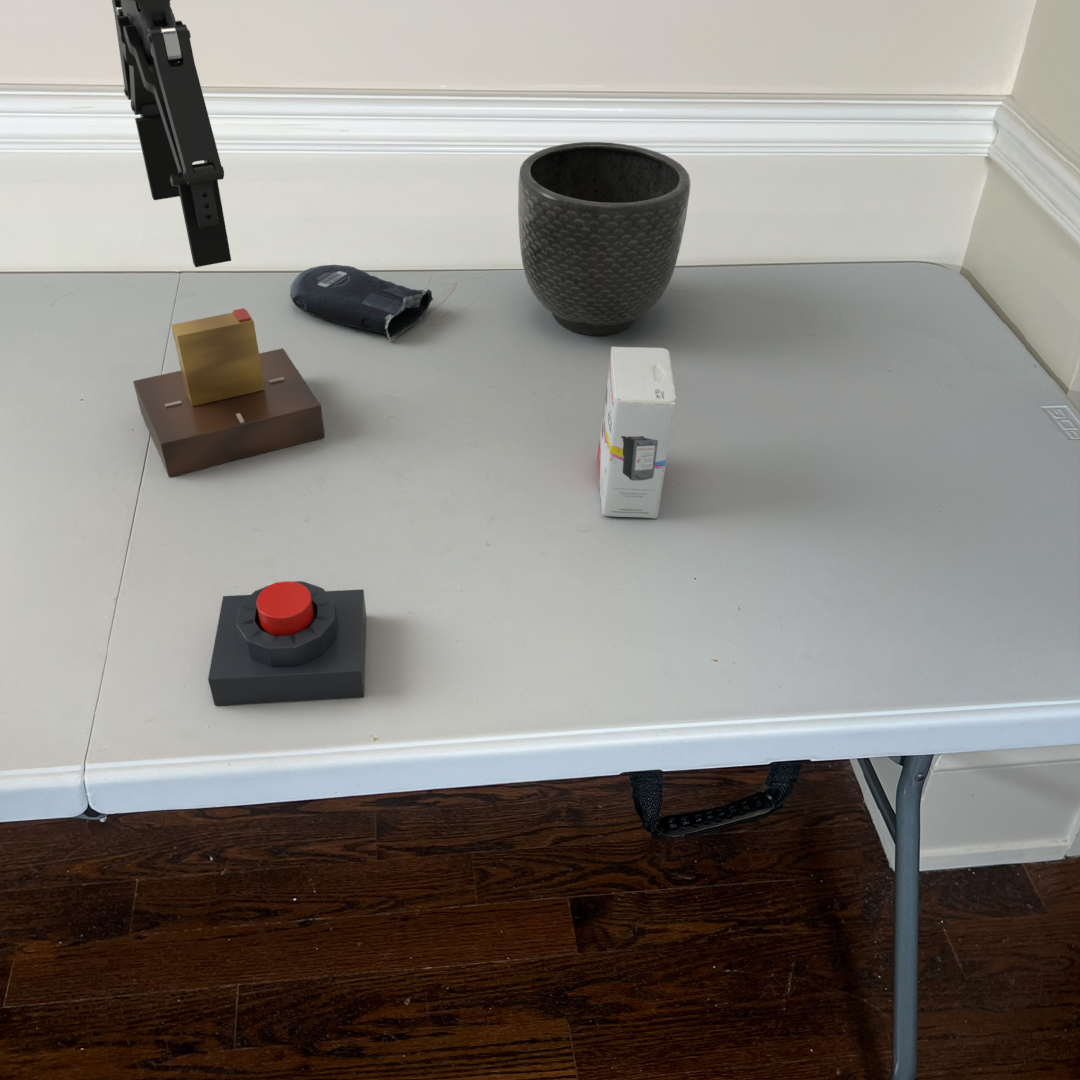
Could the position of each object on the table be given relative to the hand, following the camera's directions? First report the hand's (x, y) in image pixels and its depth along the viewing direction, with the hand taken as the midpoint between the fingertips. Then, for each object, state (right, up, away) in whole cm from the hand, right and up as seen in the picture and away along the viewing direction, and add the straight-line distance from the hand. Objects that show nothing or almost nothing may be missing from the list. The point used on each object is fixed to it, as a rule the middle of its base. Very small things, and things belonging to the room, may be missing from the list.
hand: (189, 227), depth 83 cm
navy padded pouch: (+8, 0, +30) cm, 31 cm away
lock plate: (0, -15, +12) cm, 19 cm away
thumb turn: (0, -12, +10) cm, 15 cm away
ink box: (+36, -21, +7) cm, 42 cm away
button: (+11, -30, -12) cm, 35 cm away
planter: (+34, -1, +30) cm, 46 cm away
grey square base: (+11, -34, -10) cm, 36 cm away
